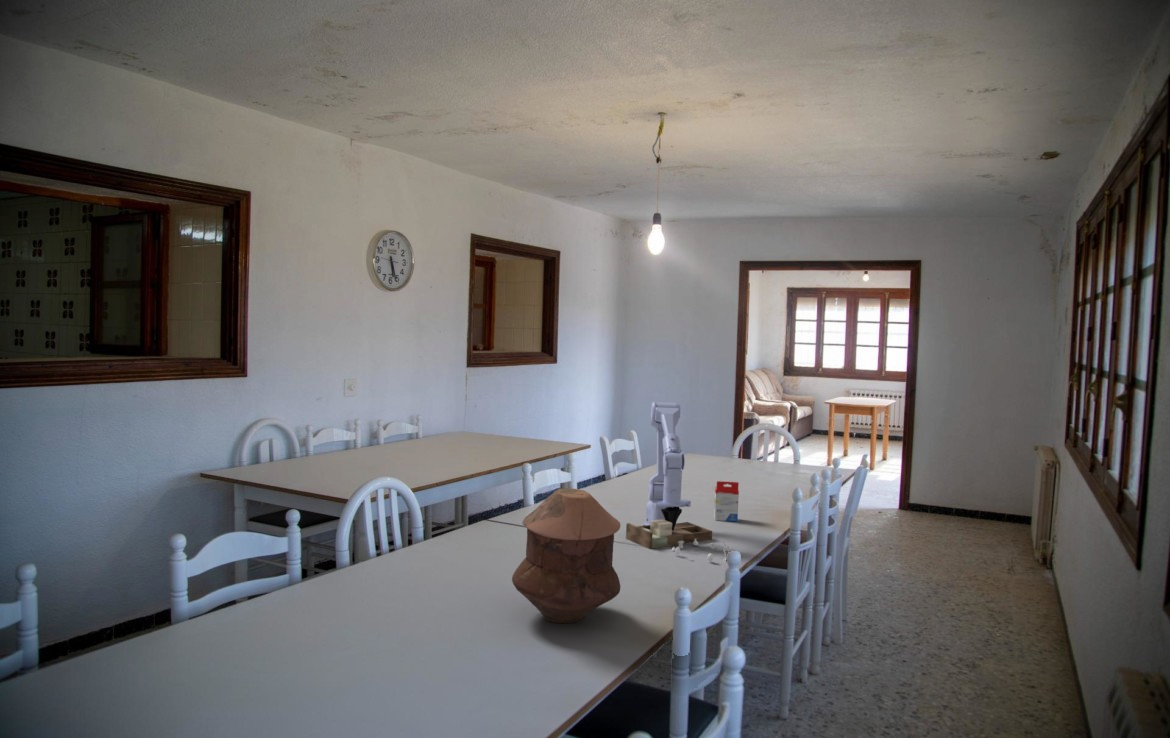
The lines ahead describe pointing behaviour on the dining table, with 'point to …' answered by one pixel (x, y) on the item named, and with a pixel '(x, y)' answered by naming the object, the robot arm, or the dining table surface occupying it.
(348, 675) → the dining table surface
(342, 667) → the dining table surface
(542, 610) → the pottery vessel
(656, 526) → the birch block
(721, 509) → the ink box
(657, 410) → the robot arm
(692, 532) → the trap board
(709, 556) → the game piece set
